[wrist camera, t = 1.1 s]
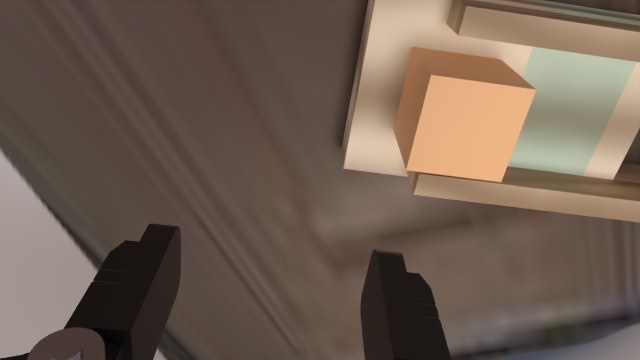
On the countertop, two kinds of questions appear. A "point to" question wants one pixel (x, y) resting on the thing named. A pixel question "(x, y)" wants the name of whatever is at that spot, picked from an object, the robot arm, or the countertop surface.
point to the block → (460, 114)
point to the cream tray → (545, 110)
